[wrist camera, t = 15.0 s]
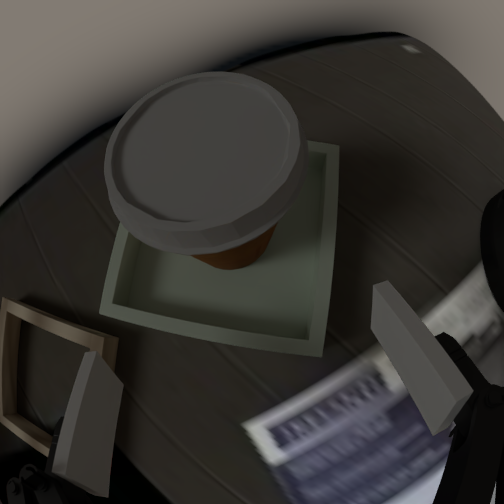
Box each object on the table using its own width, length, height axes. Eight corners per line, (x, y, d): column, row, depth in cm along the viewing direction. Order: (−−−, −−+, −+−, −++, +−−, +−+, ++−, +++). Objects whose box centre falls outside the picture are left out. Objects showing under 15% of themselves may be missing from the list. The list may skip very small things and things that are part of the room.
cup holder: (119, 337, 22) (104, 337, 19) (108, 475, 18) (96, 484, 16) (18, 300, 23) (2, 296, 21) (11, 417, 20) (-3, 419, 17)
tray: (331, 167, 25) (339, 145, 21) (313, 353, 21) (321, 357, 17) (164, 151, 26) (152, 130, 23) (120, 316, 22) (99, 313, 19)
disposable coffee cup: (284, 299, 21) (305, 260, 10) (161, 282, 22) (68, 232, 10) (296, 183, 23) (313, 71, 12) (185, 174, 24) (136, 72, 13)
